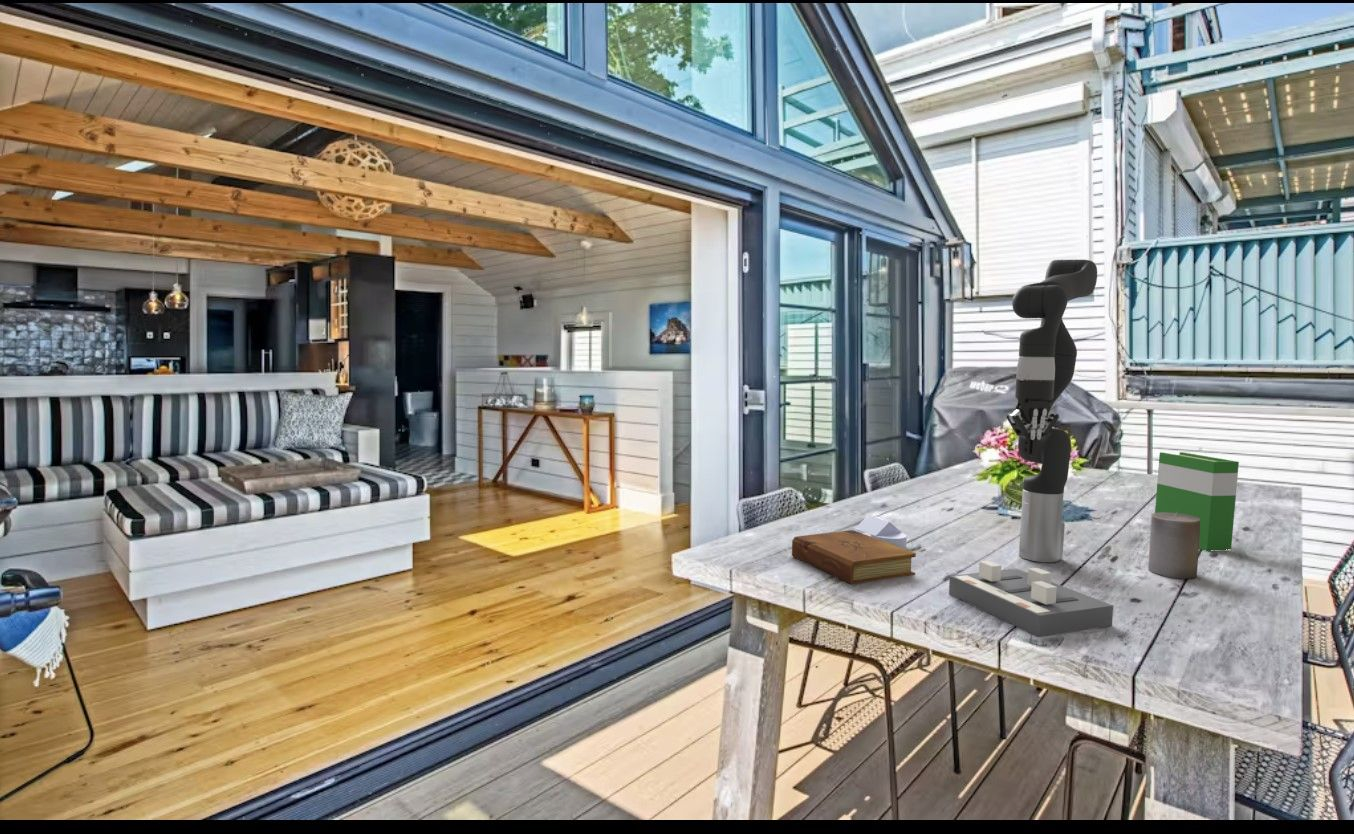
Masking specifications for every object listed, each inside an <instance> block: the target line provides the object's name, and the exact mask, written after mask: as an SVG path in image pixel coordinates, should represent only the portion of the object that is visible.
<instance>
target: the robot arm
mask: <svg viewBox="0 0 1354 834" xmlns="http://www.w3.org/2000/svg"><path fill="white" fill-rule="evenodd" d="M1097 281H1098V268H1097V265H1096V263H1095V262H1094V261H1093V260H1089V259H1054V260H1051V261H1050V262H1049V263H1048V265H1047V268H1046V271H1045V277H1044V280H1042V281H1040V282H1035V283H1029V284H1025V285H1023V286H1021V287H1020V288H1018V289H1017V290H1016V291H1015V293H1014V295H1013V297H1012V302H1011V304H1012V305H1011V307H1012V310H1013V312H1014V313H1015V314H1016V316H1018V317H1019V318H1021V319H1041V321H1040V326H1039V327H1036V328H1032V329H1031V328H1030V329H1025V330H1023V331H1022V332H1020V337H1019V348H1018V349H1019V350H1018V360H1017V365H1016V377H1015V393H1014V396H1015V399H1017V403H1016V405H1015V410H1014V411H1013V412H1012V413H1008V414H1007V415H1006V419H1007V422H1008V423H1009V425H1010V426H1011V428H1012V430H1013V431H1014V433H1015V435H1016V436H1017V437H1018V442H1017V443H1018V444H1017V448H1018V449H1017V450H1018V451H1017V452H1018V454H1019V456H1020V458H1021V459H1022V460H1024V461H1026V462H1029V463H1034V464H1035V463H1036V464H1041V468H1040V472H1039V473H1038V474H1036V475H1030V476H1027V477H1025V478H1024V479H1023V482H1022V494H1021V495H1022V496H1021V514H1020V517H1021V518H1020V529H1019V530H1020V533H1019V548H1018V556H1019V557H1020V558H1023V559H1024V560H1029V561H1033V562H1038V563H1056V562H1059V561H1060V560H1063V559H1064V558H1063V557H1064V556H1063V555H1064V541H1065V540H1064V538H1065V526H1066V525H1065V524H1066V523H1065V521H1063V510H1064V509H1063V508H1064V493H1065V486H1066V484H1067V480H1068V477H1069V469H1070V463H1071V454H1072V453H1071V452H1072V439H1071V437H1070V435H1069V433H1068V432H1067V431H1066V430H1064V429H1061V428H1056V427H1054V425H1056V423H1057V421H1058V419H1059V418H1060V415H1059V414H1058V413H1054V411H1052V410H1051V409H1052V406H1053V405H1054V404H1055V402H1056V401H1057V400H1058V398H1059V397H1060V396H1061V395H1062V394H1063V392H1065V390H1066V388H1067V387H1068V386H1069V385H1070V384H1071V381H1072V380H1073V377H1074V375H1075V369H1076V364H1077V363H1076V361H1077V356H1078V350H1077V346H1076V343H1075V341H1074V339H1073V337H1072V335H1071V333H1070V332H1069V330H1068V328H1067V327H1066V325H1065V323H1064V321H1063V316H1064V313H1065V311H1066V308H1067V305H1068V302H1070V301H1072V300H1075V299H1078V298H1084V297H1088V296H1090V295H1091V294H1092V293H1093V292H1094V290H1095V288H1096V285H1097Z"/></svg>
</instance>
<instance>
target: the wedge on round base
mask: <svg viewBox="0 0 1354 834" xmlns="http://www.w3.org/2000/svg"><path fill="white" fill-rule="evenodd" d="M854 529H855V530H857V531H861V532H863V533H866V534H869V535H870V537H873V538H876V539H878V540H881V541H884V542H887V543H889V544H892V545H895V546H898V547H900V548H903V549H906V550H907V538H908V536H907V534H906V533H904V532H902V531H901V530H899V528H897V526H895V525H894V524H893V523H892V522H890V521H888V520H886V519H882V518H879V517H877V516H876V517H875V516H872V515H870V514H868V515H867V516H865V517H864V519H863V520H862V521H860V523H858V524H857V526H856V527H854Z"/></svg>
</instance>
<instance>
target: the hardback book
mask: <svg viewBox="0 0 1354 834" xmlns="http://www.w3.org/2000/svg"><path fill="white" fill-rule="evenodd" d="M1158 456H1159V457H1158V467H1157V469H1158V470H1157V471H1158V472H1157V483H1156V484H1157V485H1156V497H1155V505H1154V506H1155V507H1154V508H1155V509H1154V513H1162V512H1164V513H1176V512H1177V511H1178V512H1177V513H1178V514H1185V515H1190V516H1194V517H1197V518H1199V519H1200V538H1199V550H1200V549H1202V550H1201V551H1203V550H1206V551H1205V552H1207V551H1208V552H1212V551H1211V550H1226V549H1227V550H1228V549H1231V550H1232V545H1233V544H1232V543H1233V532H1234V522H1235V521H1234V520H1235V510H1236V509H1235V508H1236V500H1237V499H1236V497H1237V488H1238V475H1239V467H1240V465H1239V464H1240V461H1236V460H1230V459H1225V458H1218V457H1214V456H1213V457H1212V456H1206V455H1201V454H1195V453H1189V452H1182V451H1181V452H1179V453H1178V454H1174V453H1168V452H1162V451H1160V452H1159V455H1158Z"/></svg>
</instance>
